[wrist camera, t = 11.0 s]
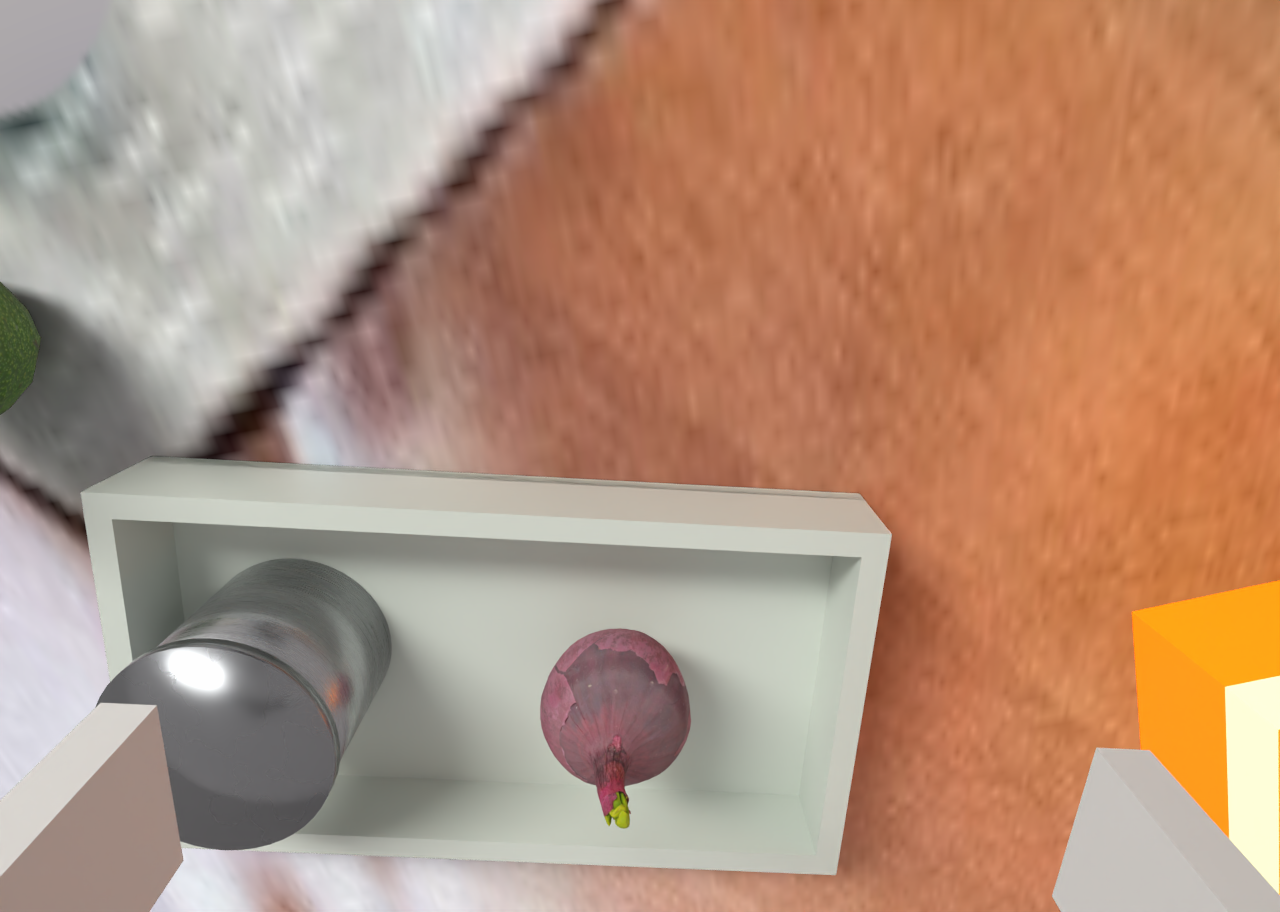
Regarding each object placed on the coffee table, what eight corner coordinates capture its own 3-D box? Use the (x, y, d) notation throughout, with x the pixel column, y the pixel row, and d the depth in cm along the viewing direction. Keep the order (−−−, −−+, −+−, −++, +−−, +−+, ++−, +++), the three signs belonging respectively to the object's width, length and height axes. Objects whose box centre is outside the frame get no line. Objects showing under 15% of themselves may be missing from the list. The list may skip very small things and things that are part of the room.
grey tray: (151, 456, 33) (80, 492, 29) (859, 493, 34) (891, 534, 30) (192, 774, 38) (136, 845, 34) (813, 801, 39) (836, 874, 34)
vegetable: (581, 732, 37) (562, 917, 27) (526, 622, 35) (485, 776, 25) (704, 689, 36) (730, 862, 26) (654, 574, 34) (662, 715, 25)
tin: (194, 549, 34) (73, 641, 27) (393, 559, 34) (327, 653, 27) (214, 718, 36) (108, 845, 29) (399, 726, 36) (340, 854, 29)
